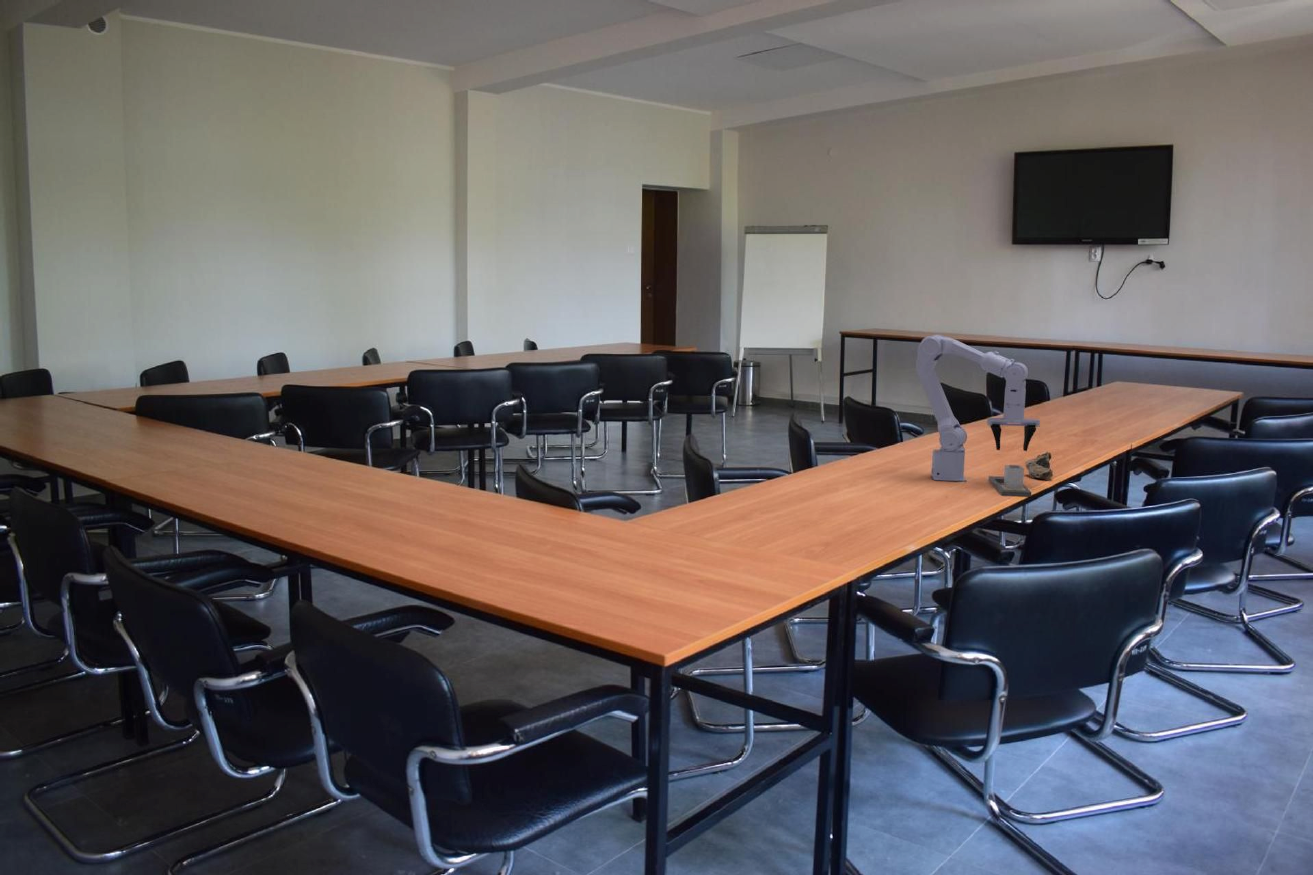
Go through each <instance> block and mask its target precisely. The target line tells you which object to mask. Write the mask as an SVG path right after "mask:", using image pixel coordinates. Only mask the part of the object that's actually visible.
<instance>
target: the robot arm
mask: <svg viewBox="0 0 1313 875" xmlns="http://www.w3.org/2000/svg"><path fill="white" fill-rule="evenodd" d="M916 349H917V355H916V356H917V357H916V362H915V371H916V373H917V376H918V378H919V380H920V383H921V385H922V388H923V390H924V392H925V395H926V398H927V400H928V402H929V404H930V407H931V410H932V412H933V415H934V416H935V419H936V422H937V432H938V433H939V445H940V447H939V449H933V451H932V457H931V458H932V462H931V471H930V472H931V474H930V475H931V478H932V479H933V480H934V481H946V482H947V481H951V482H967V478H966V477H965V476H964V475H965V459H966V447H965V446H964V444H965V443H966V442H967V439H968V434H967V431H966V430H965V429H964V428H963V427H962V425H961V424H960V423H959V420H958V419H957V418H956V417H955V416H954V413H953V411H952V409H951V406H950V403H949V401H948V399H947V396H946V394H945V391H944V389H943V387H942V384H941V382H940V380H939V377H938V374H937V372H936V370H935V367H936V366H937V364H938V361H939V359H940V358H941V357H943V355H950V354H951V355H952V354H955V355H957V356H961V357H962V358H965V359H967V360H971V361H973V362H975V363H978V364H979V365H980V367H981V370H983V371H986V372H988V373H990V374H992V375H994V376H996V377H999V378H1003V379H1004V380H1005V388H1004V401H1003V402H1004V403H1003V416H1002V417H987V420H986V425H987V426H989V427H990V429H991V432H992V434H993V437H994V441H995V448H996V450H997V451H1000V450H1001V436H1002V427H1001V426H1011V427H1013V426H1014V427H1015V426H1016V427H1018V426H1019V427H1020V426H1021V427H1023V429H1024V430H1023V432H1024V438H1023V445H1022V446H1023V448H1022V449H1023V451H1024V452H1028V448H1029V445H1030V442H1031V439H1032V437H1033V436H1034V434H1035V433H1036V430H1037V428H1038V427H1040V426H1041V424H1040V423H1041V420H1040V419H1036V418H1035V419H1034V418H1025V409H1026V408H1025V406H1026V395H1027V394H1026V393H1027V392H1026V391H1027V389H1026V384H1027V381H1026V379H1027V378H1028V376H1029V369H1028V367H1027V366H1026V365H1025V364H1024V363H1022V362H1021V361H1016V362H1015V359H1014V358H1010V359H1009V358H1007V357H1005V356H1002V355H1000V352H998V351H988V352H985V353H984V352H983V351H980V350H978V349H976V348H974V347H972V346H969V345H967V344H965V343H963V342H961V341H959V340H958V339H954V338H952V337H949V336H945V335H942V334H933V335H928V336H926V337H924V338H923V339H922V340H921V342H920V343H919V345H918V347H917V348H916Z"/></svg>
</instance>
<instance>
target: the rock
mask: <svg viewBox="0 0 1313 875" xmlns="http://www.w3.org/2000/svg"><path fill="white" fill-rule="evenodd" d="M1051 460H1052V454H1051V452H1049V451H1046V452H1045V453H1043V454H1042V453H1041V454H1038V455H1037V456H1036V457H1035V458H1032V459H1029V460H1027V461H1025V467H1026V469H1027V470H1028V471H1027V472H1028V475H1029V477H1030V478H1031V479H1035V478H1037V479H1040V480H1044V481H1049V480H1050V479H1051V478H1052V477H1054V475H1053V469H1051V464H1050V461H1051Z"/></svg>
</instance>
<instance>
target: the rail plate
mask: <svg viewBox="0 0 1313 875" xmlns="http://www.w3.org/2000/svg"><path fill="white" fill-rule="evenodd" d="M988 481H989V482H990V484H991V485H992V486H993V487H994V488H995V490H996V491H997V492H998V493H999V494H1000V495H1001V496H1002V497H1005V496H1006V497H1007V496H1009V497H1030V498H1031V497H1032V492H1031V490H1030V489H1029V488H1027V486H1026V485H1025V484H1024V483H1023V490H1021V489H1006V488H1005V487H1004V476H993V475H990V476H988Z"/></svg>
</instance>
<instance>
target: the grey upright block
mask: <svg viewBox="0 0 1313 875" xmlns="http://www.w3.org/2000/svg"><path fill="white" fill-rule="evenodd" d="M1024 474H1025V469H1024V467H1023V466H1022V465H1019V464H1009V465H1007V464H1006V465H1004V475H1003V477H1004V483H1003V484H1004V487H1005V488H1006V489H1021V490H1023V484H1024Z"/></svg>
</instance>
